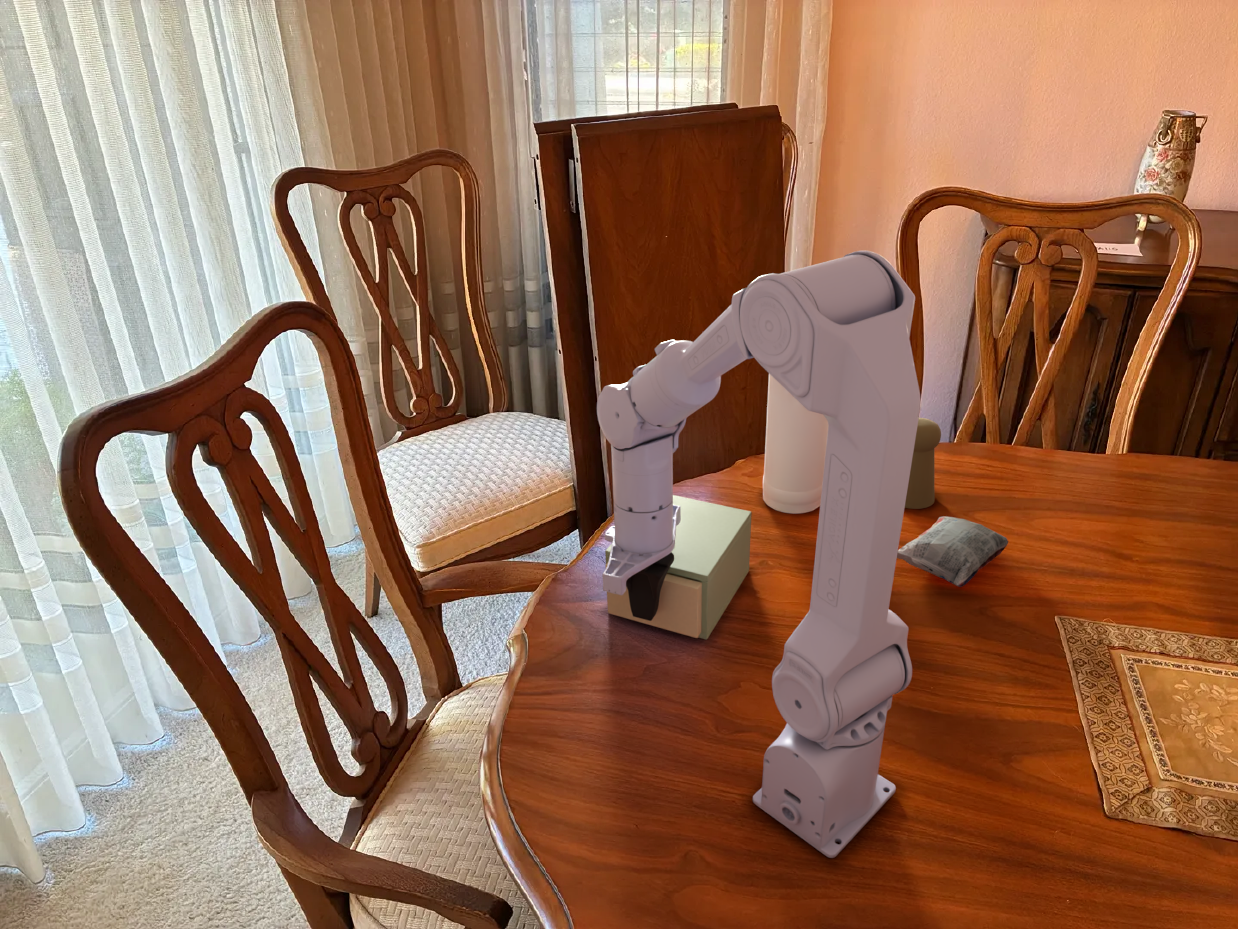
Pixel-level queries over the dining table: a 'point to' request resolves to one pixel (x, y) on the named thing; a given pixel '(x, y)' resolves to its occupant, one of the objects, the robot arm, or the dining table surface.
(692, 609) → the wooden pull-out drawer
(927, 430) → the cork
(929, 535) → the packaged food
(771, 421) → the bottle
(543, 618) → the dining table surface
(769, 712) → the dining table surface
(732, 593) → the drawer cabinet
